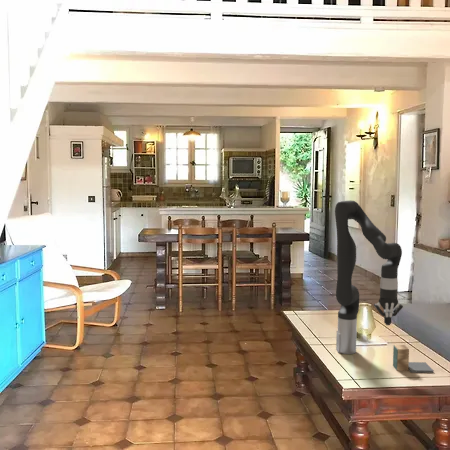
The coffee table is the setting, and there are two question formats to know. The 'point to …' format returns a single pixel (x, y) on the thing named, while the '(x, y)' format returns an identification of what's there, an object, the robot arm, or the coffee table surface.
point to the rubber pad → (420, 367)
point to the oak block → (400, 357)
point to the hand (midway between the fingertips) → (387, 324)
